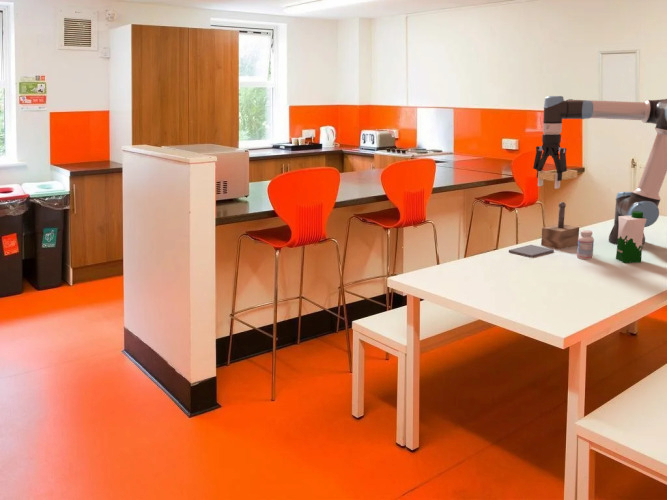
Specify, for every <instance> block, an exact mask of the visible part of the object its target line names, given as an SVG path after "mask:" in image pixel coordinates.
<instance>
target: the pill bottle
mask: <svg viewBox="0 0 667 500" xmlns="http://www.w3.org/2000/svg"><path fill="white" fill-rule="evenodd" d="M594 241H595V239H594V237H593V231H592V230H587V229H585V230H584V229H583V230H580V231H579V238H578V245H577V251H576V257H577V259H582V260H590V259H592V258H593V254H594Z"/></svg>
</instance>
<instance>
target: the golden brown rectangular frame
mask: <svg viewBox="0 0 667 500" xmlns="http://www.w3.org/2000/svg"><path fill="white" fill-rule="evenodd" d="M542 171H543V172H539V177H538V178H537V180H538V179H542V180H543V181H552V182H555V173H556V172H557V170H556V169H552V170H542ZM578 173H579V172H578V170H577V169H576V170H575V169H568V168H567V171H566V172H563V173H562V180H561V181H563V180H568V179H569V180H570V179H574V178H575V179H576V178H578Z"/></svg>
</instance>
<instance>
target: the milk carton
mask: <svg viewBox="0 0 667 500" xmlns="http://www.w3.org/2000/svg"><path fill="white" fill-rule="evenodd" d="M618 218H619V229H618V241H617V244H616V254H615V259H616V260H617V261H619V262H621V263H624V264H633V263H634V264H638V263H639V264H641V263H642V253H643V245H642V243H643V233H644V234H645V231H644V230H645V227H644V226H645V223H646V220H647V219H645V218H644V217H643V212H639V211H633V212H632V216H618Z"/></svg>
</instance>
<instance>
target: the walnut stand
mask: <svg viewBox="0 0 667 500" xmlns="http://www.w3.org/2000/svg"><path fill="white" fill-rule="evenodd" d="M566 205H567V204H566V202H564V201H560V202H559V203H558V220H557V221H558V222H557V224H553V225H548V226H544V227H542V228H541V241H540V242H541V245H540V246H542V247H543V246H544V247H546V248H551V249H556V250H557V249H558V250H563V249H566V248H571V247H574V246H578V238H579V237H580V227H579V226H574V225H567V224H565V210H566Z"/></svg>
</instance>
